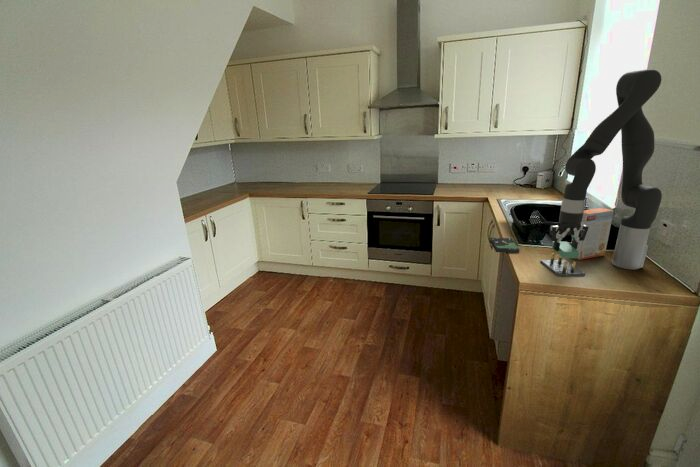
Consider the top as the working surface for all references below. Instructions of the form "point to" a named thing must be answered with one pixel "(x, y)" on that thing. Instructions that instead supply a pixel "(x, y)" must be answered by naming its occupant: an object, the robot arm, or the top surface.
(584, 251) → the cracker box
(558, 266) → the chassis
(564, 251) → the board
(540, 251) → the top surface
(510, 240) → the disk drive
